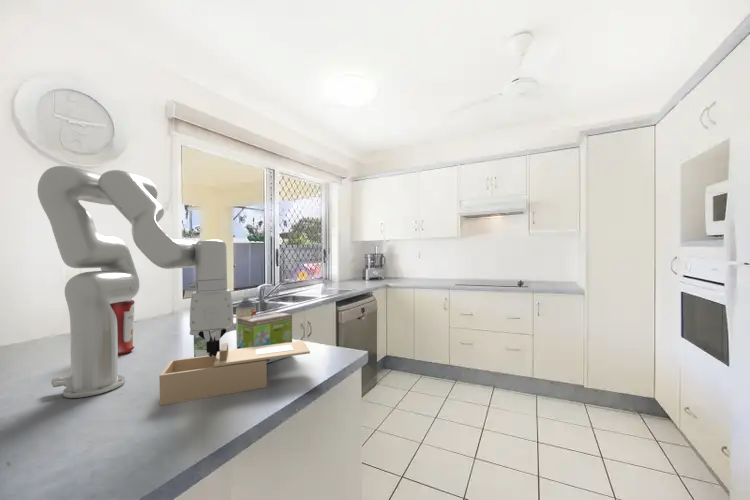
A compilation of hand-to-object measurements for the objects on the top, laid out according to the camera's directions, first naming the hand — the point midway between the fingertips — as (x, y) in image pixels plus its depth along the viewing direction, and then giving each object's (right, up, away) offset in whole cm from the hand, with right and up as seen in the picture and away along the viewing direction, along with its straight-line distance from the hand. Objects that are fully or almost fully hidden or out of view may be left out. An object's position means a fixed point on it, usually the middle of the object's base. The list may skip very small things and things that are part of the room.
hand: (213, 354), depth 84 cm
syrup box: (-12, -10, +19) cm, 25 cm away
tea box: (+6, -9, +22) cm, 25 cm away
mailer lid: (+12, -1, +5) cm, 13 cm away
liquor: (-51, -11, +34) cm, 62 cm away
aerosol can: (-4, -10, +31) cm, 33 cm away
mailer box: (+1, -9, 0) cm, 9 cm away
